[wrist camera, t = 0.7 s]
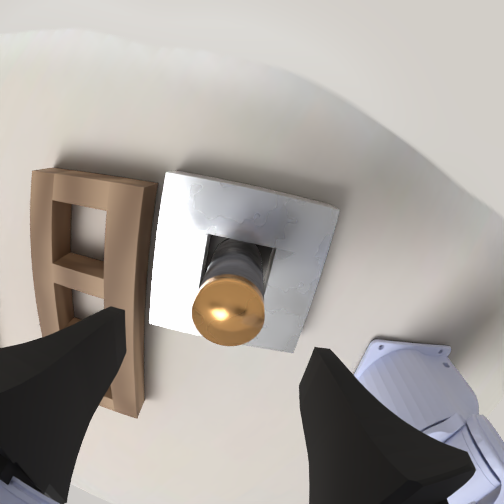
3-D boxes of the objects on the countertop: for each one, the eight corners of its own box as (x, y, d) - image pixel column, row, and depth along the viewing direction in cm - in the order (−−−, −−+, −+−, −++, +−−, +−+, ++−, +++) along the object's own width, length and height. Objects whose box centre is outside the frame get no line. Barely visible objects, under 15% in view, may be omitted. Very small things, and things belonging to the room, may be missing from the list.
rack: (158, 183, 17) (143, 187, 15) (144, 400, 24) (137, 418, 21) (52, 167, 17) (32, 170, 15) (66, 371, 23) (55, 386, 21)
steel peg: (267, 243, 19) (272, 291, 12) (256, 287, 20) (255, 351, 13) (217, 232, 18) (196, 276, 12) (209, 277, 19) (187, 337, 13)
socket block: (331, 204, 18) (340, 210, 16) (290, 336, 21) (293, 353, 19) (175, 170, 17) (165, 172, 15) (157, 309, 20) (149, 323, 18)
